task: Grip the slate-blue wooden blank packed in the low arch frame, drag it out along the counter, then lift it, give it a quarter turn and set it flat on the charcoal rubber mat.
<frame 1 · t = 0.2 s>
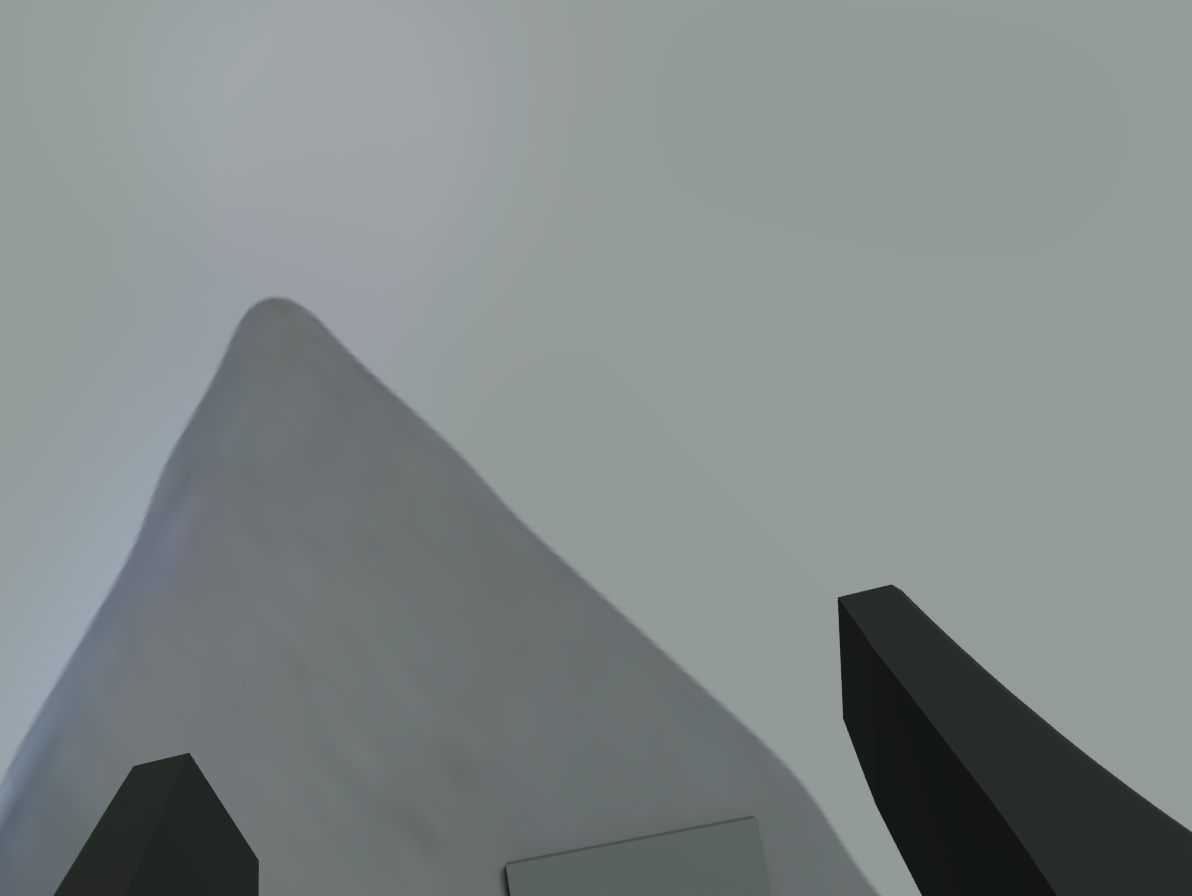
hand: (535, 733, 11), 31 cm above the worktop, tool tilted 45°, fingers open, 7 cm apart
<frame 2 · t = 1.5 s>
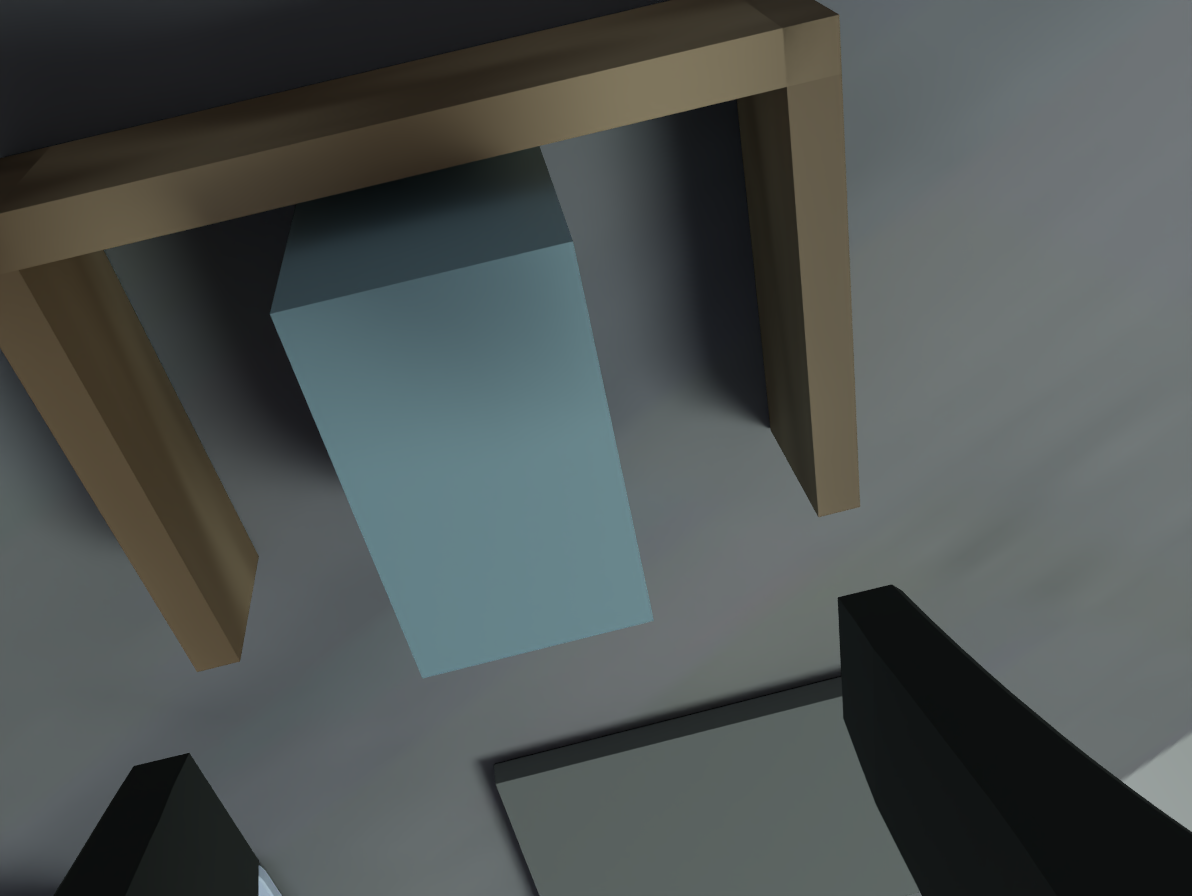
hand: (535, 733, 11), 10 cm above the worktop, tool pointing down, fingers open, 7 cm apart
blank: (477, 401, 17), in the arch frame
arch frame: (470, 336, 19), on the worktop
mat: (724, 825, 29), on the worktop
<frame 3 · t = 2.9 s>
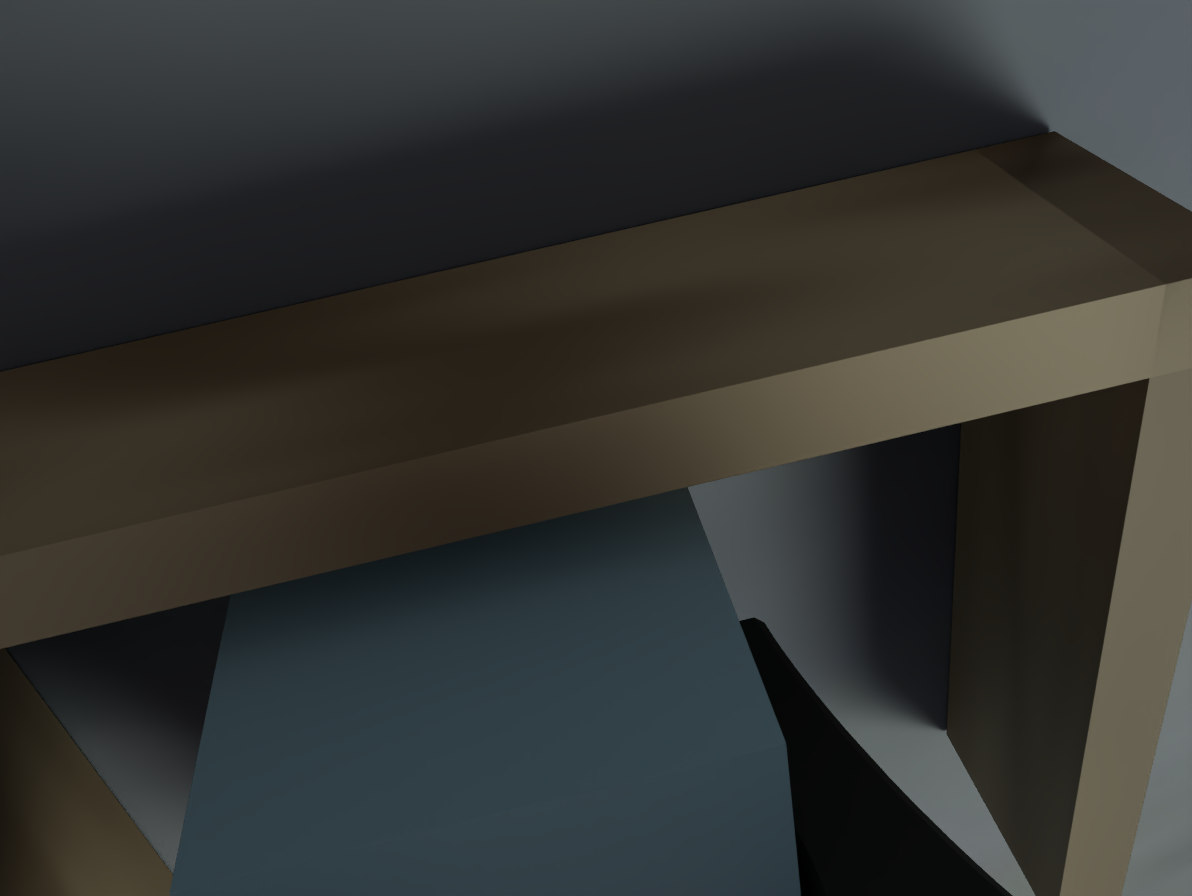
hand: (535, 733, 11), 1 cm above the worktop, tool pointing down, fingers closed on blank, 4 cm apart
blank: (545, 809, 11), in the arch frame, touching gripper
arch frame: (523, 643, 12), on the worktop
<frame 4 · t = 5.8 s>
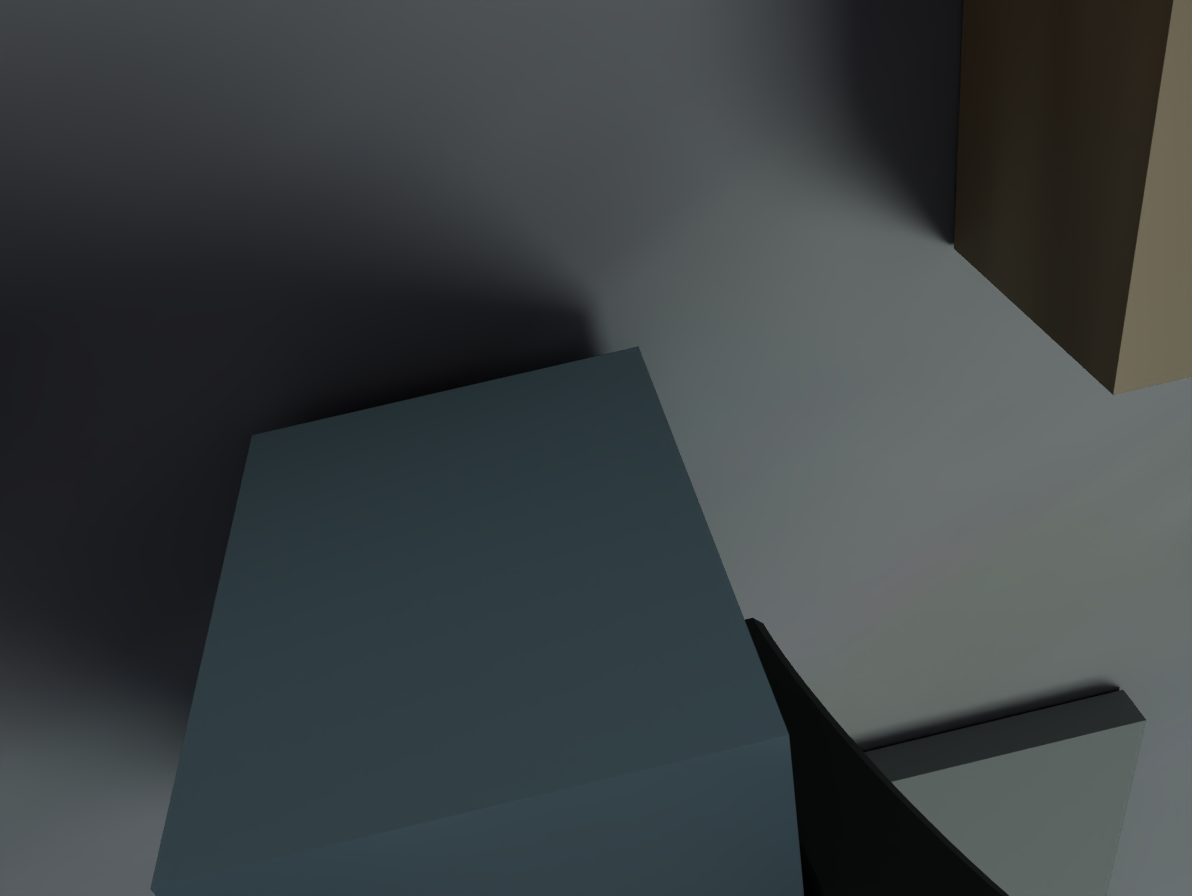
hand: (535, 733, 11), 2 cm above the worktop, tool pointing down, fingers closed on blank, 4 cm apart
blank: (542, 804, 10), on the worktop, touching gripper
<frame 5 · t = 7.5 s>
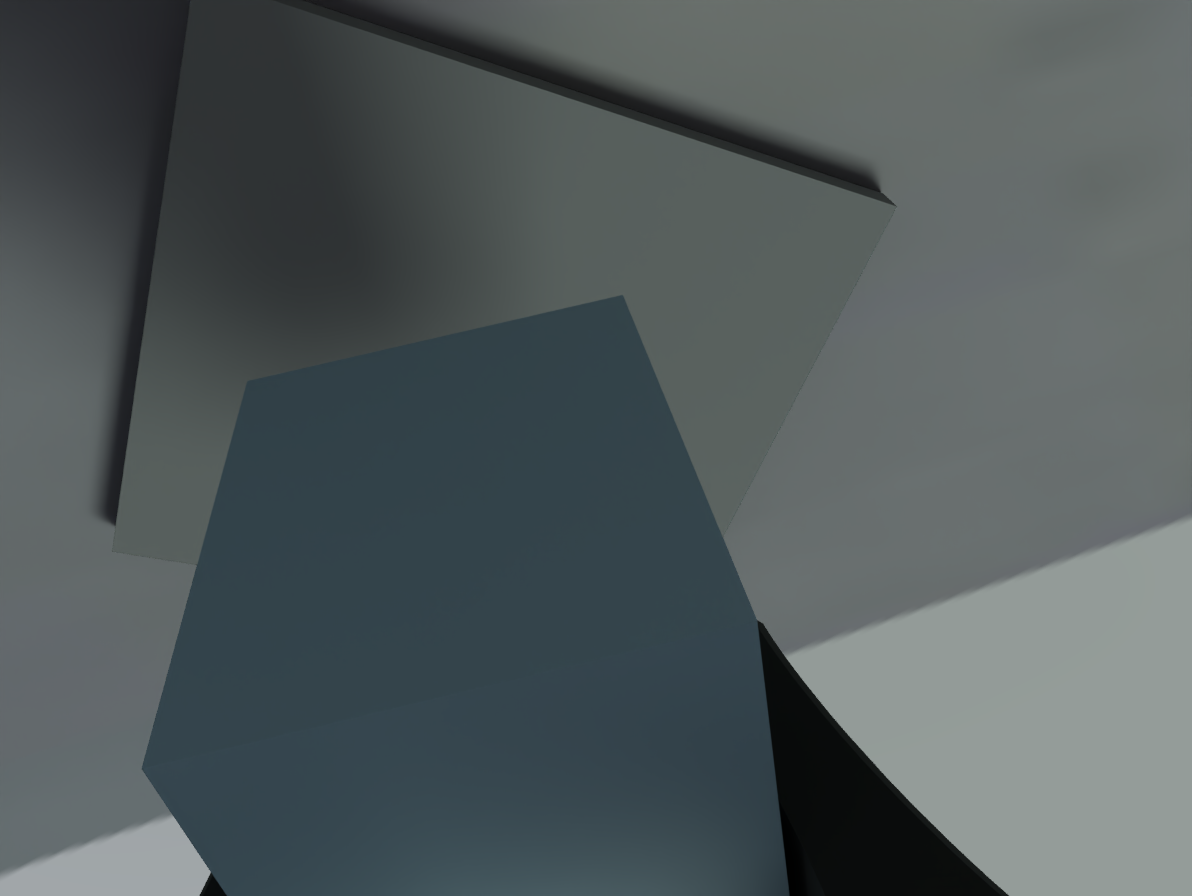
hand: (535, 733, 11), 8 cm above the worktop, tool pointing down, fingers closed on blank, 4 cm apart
blank: (529, 742, 10), point 9 cm above the worktop, touching gripper
mat: (486, 368, 18), on the worktop
when the fingers open (4 cm above the worktop, at t = 8.7 s): blank drops 1 cm, resting on mat.
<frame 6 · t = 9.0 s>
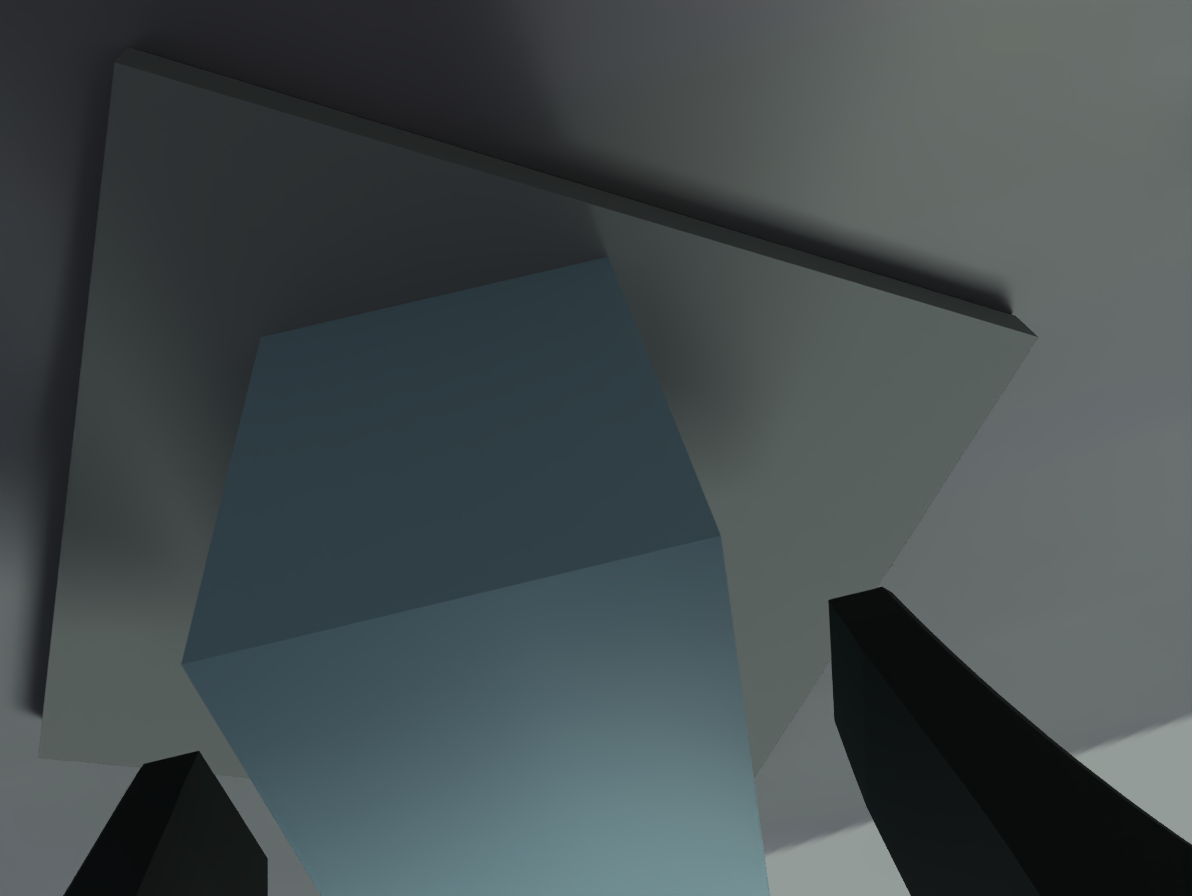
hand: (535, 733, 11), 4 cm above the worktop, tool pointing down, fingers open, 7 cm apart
blank: (523, 669, 11), on the mat, point 3 cm above the worktop
mat: (508, 530, 14), on the worktop
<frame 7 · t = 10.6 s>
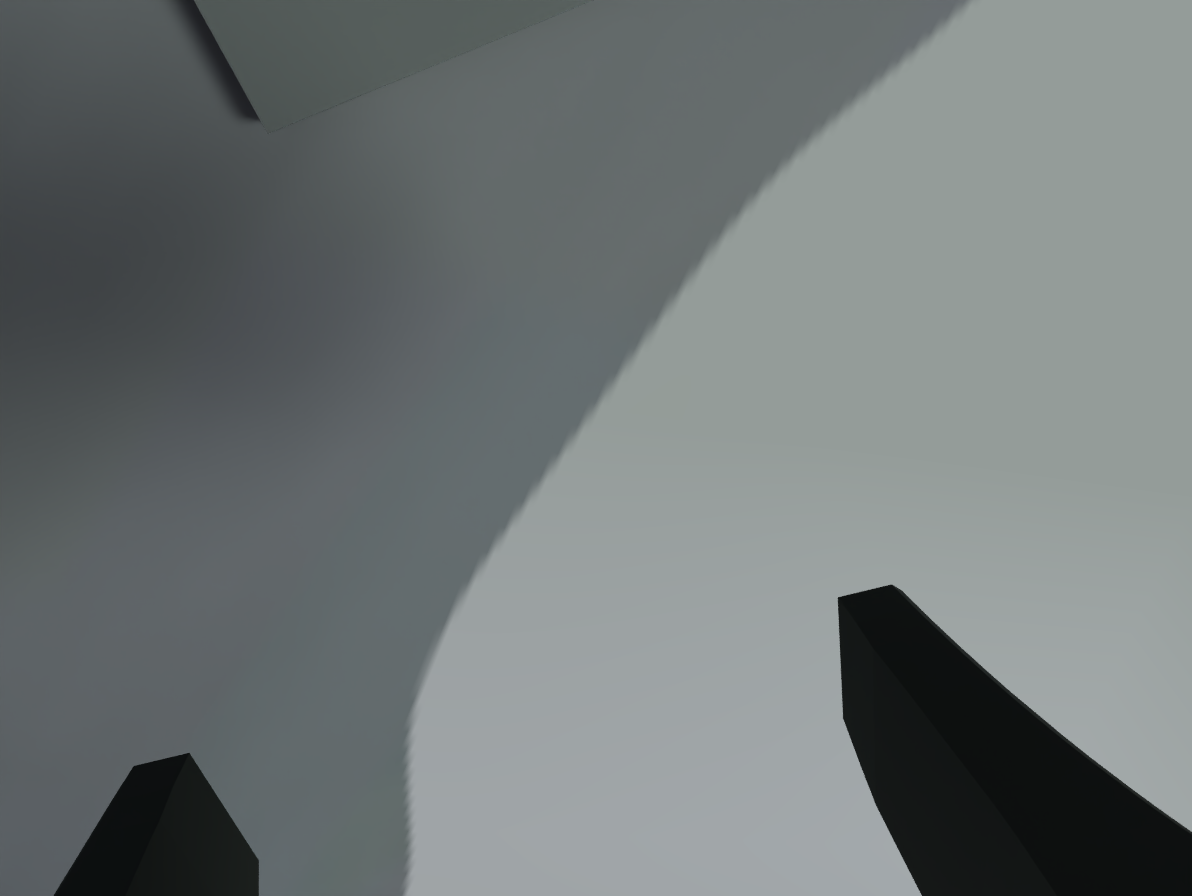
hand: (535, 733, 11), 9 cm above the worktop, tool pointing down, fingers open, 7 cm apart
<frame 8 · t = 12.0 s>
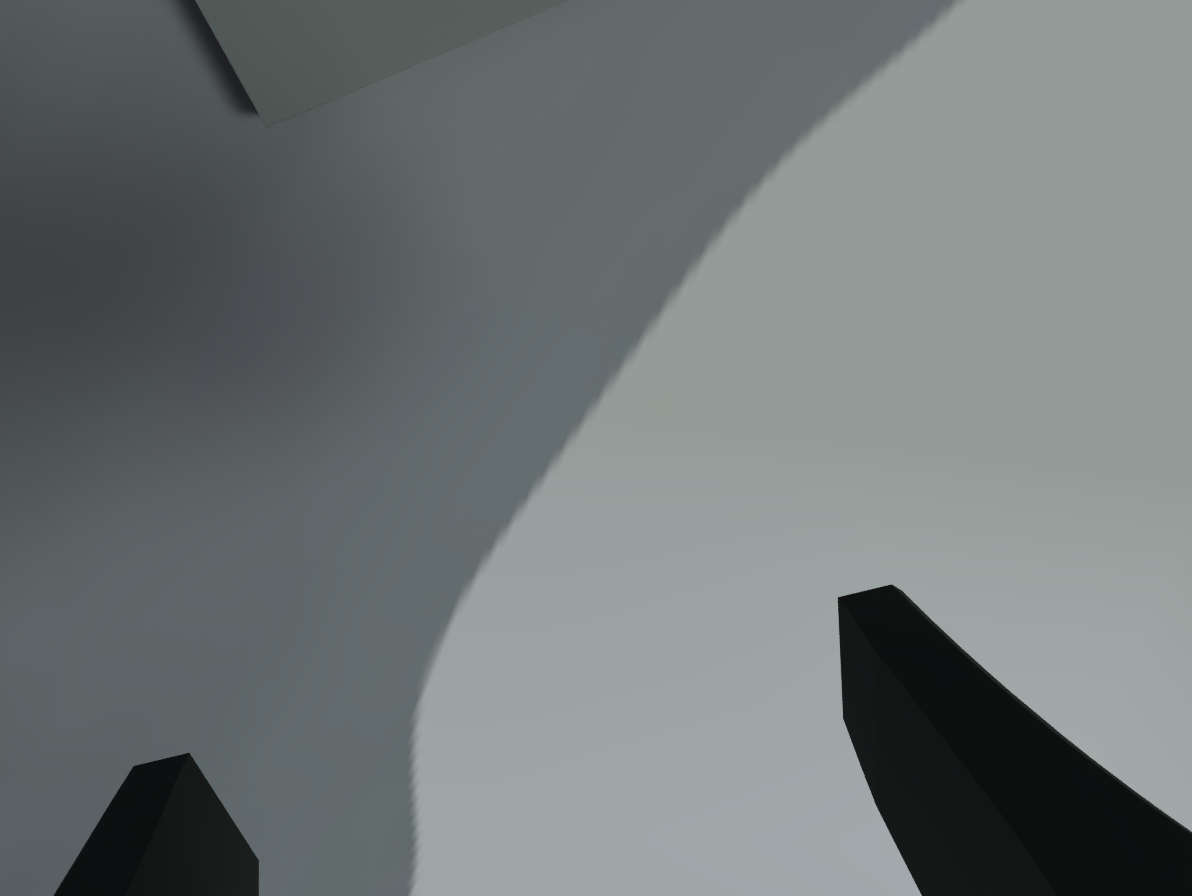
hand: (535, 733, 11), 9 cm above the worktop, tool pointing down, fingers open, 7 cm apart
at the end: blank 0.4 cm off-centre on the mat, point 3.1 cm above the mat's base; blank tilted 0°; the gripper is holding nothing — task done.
